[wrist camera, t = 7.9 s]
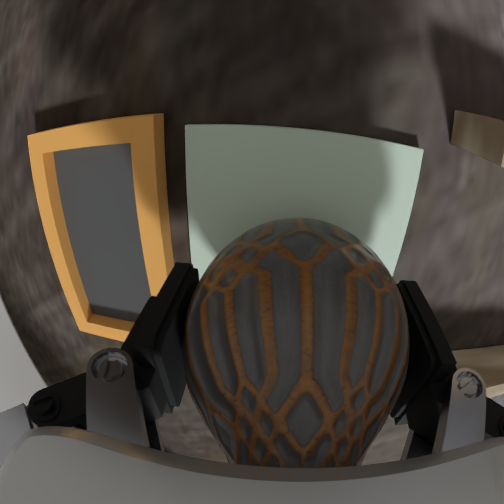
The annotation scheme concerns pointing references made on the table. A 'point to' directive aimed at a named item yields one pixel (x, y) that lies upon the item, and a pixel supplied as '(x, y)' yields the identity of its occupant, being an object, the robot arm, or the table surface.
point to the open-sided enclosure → (500, 152)
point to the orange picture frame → (105, 216)
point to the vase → (296, 346)
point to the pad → (296, 184)
